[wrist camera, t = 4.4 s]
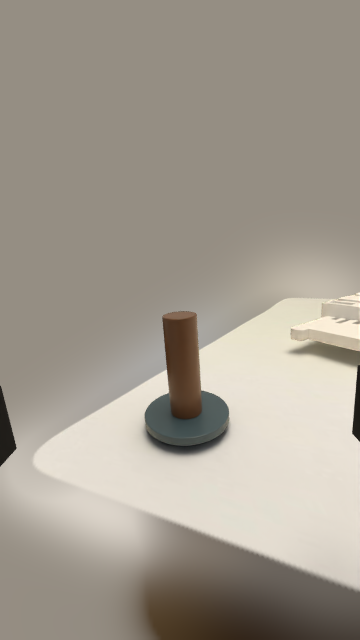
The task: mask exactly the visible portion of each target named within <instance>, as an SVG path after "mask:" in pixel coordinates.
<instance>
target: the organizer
mask: <svg viewBox="0 0 360 640" xmlns="http://www.w3.org/2000/svg"><path fill="white" fill-rule="evenodd" d="M291 339H293V340H297V341H304V340H307V339H310V340H314V341H318V342H322V343H326V344H330V345H335V346H339V347H343V348H347V349H351V350H355V351H359V352H360V293H357V294H355V296H353V295H349V296H346V297H342V298H338V300H331V301H327V302H323V303H322V313H321V318H319V319H316V320H313V321H310V322H307V323H303V324H300V325H297V326H294V327H291Z"/></svg>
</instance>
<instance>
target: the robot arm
mask: <svg viewBox="0 0 360 640" xmlns="http://www.w3.org/2000/svg"><path fill="white" fill-rule="evenodd" d="M352 434H353V435H354V436H355V437H356V438H357V439H358V440H359V441H360V365H358V370H357V382H356V394H355V406H354V418H353V430H352ZM15 450H16V444H15V440H14V436H13V432H12V428H11V425H10V420H9V417H8V412H7V408H6V404H5V401H4V397H3V393H2V389H1V386H0V466H1V465H2V464H3V463H4V462H5V461H6V459H7V458H8V457H9V456H10V455H11V454H12V453H13V452H14V451H15Z"/></svg>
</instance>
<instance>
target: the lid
mask: <svg viewBox="0 0 360 640" xmlns="http://www.w3.org/2000/svg"><path fill="white" fill-rule="evenodd" d="M162 319H163V329H164V341H165V352H166V363H167V374H168V385H169V393H168V394H165V395H163V396H161V397H159V398H157V399H156V400H154V401H153V402H152V403H151V404H150V405H149V406H148V408H147V410H146V412H145V424H146V428H147V430H148V432H149V433H150V434H151V435H152V436H153V437H154V438H156V439H157V440H159V441H162V442H164V443H167V444H171V445H179V446H189V445H197V444H201V443H205V442H208V441H210V440H212V439H214V438H216V437H217V436H219V435H220V434H221V433H222V432H223V431H224V430H225V429H226V427H227V425H228V423H229V409H228V406H227V404H226V403H225V402H224V401H223V400H222V399H221V398H220V397H218V396H216V395H214V394H212V393H209V392H205V391H201V381H200V364H199V347H198V330H197V315H196V313H194V312H189V311H188V312H187V311H181V312H172V313H168V314H165V315H163V317H162Z"/></svg>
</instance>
